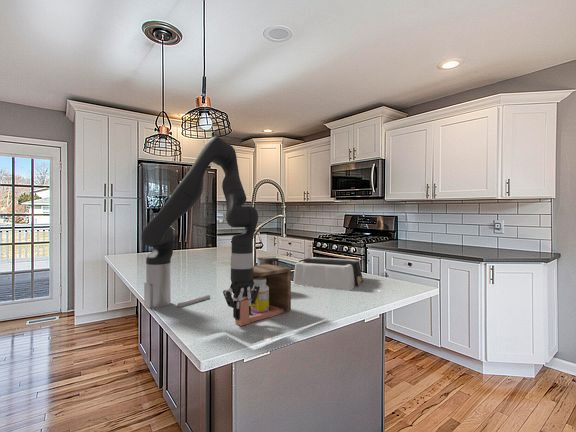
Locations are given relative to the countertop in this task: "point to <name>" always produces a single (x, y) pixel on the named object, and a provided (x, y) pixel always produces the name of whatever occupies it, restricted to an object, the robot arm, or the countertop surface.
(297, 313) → the countertop surface
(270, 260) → the coffee box
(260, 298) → the supplement bottle
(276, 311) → the crook
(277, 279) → the shelf
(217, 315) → the countertop surface
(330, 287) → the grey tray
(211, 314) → the countertop surface
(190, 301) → the grey dowel
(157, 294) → the robot arm
